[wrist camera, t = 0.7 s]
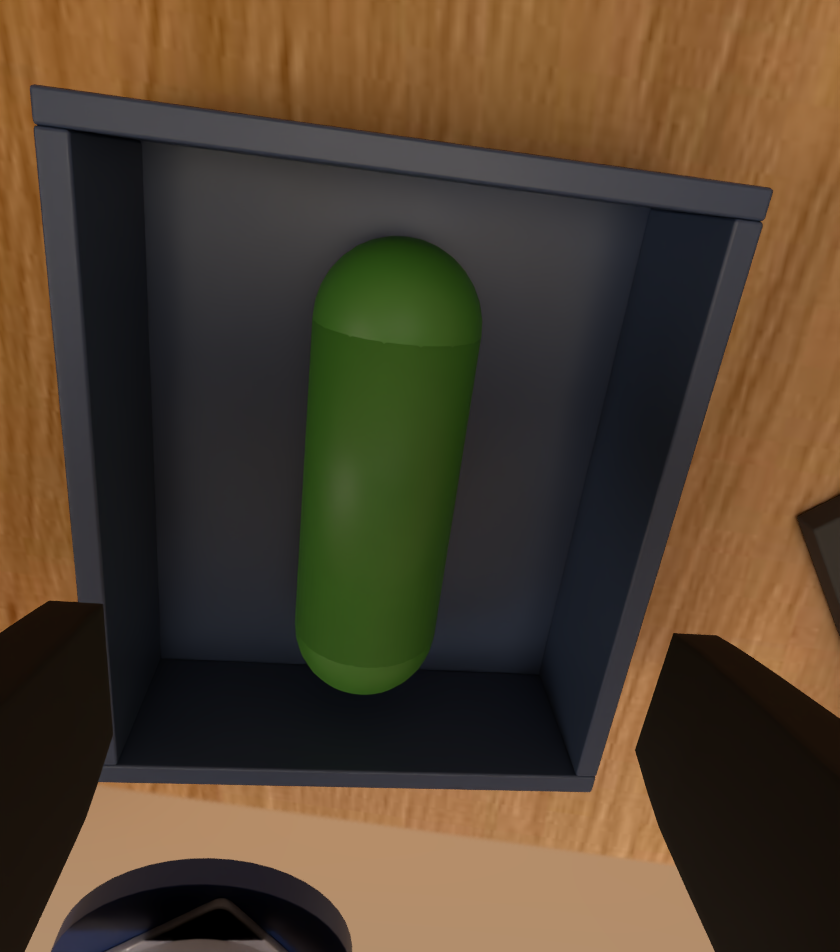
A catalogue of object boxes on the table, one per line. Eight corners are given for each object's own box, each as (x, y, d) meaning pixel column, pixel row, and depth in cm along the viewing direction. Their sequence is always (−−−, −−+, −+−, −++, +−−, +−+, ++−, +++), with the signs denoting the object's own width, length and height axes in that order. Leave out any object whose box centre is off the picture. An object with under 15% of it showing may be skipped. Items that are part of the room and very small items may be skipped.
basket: (547, 676, 19) (591, 793, 16) (147, 659, 18) (93, 783, 14) (668, 184, 14) (775, 188, 11) (121, 108, 13) (27, 83, 9)
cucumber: (420, 637, 18) (432, 728, 15) (297, 632, 17) (285, 723, 15) (479, 239, 14) (511, 257, 11) (321, 219, 13) (311, 232, 11)
